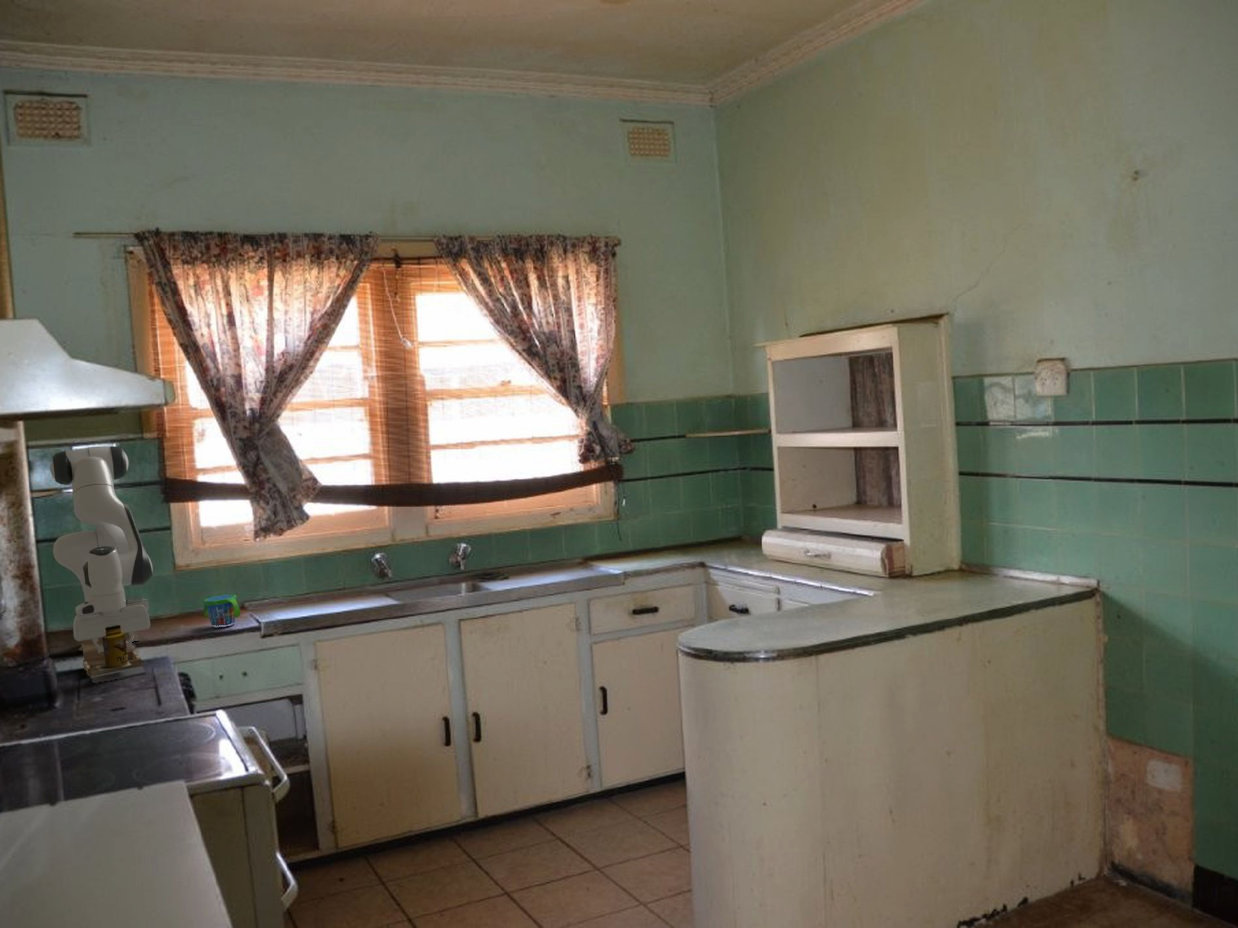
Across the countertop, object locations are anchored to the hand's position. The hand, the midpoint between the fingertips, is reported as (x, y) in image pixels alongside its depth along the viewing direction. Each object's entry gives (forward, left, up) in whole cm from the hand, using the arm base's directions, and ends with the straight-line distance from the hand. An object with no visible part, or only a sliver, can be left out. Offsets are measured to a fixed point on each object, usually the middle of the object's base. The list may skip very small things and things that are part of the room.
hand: (115, 650), depth 320 cm
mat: (0, 0, -8) cm, 8 cm away
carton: (-14, 0, -8) cm, 16 cm away
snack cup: (-49, +39, -8) cm, 63 cm away
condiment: (0, -1, -5) cm, 5 cm away
